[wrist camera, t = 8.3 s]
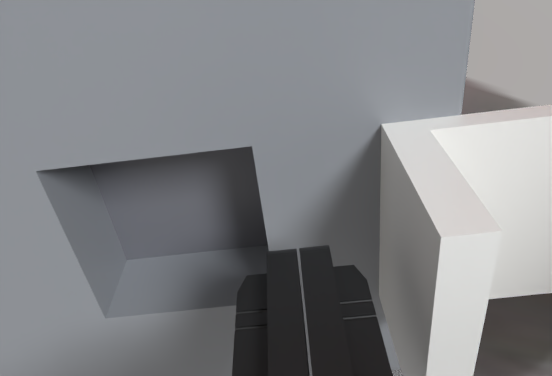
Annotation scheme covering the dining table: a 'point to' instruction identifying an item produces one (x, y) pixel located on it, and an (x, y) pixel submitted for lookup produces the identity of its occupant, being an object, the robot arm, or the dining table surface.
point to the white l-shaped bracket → (461, 229)
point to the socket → (195, 163)
